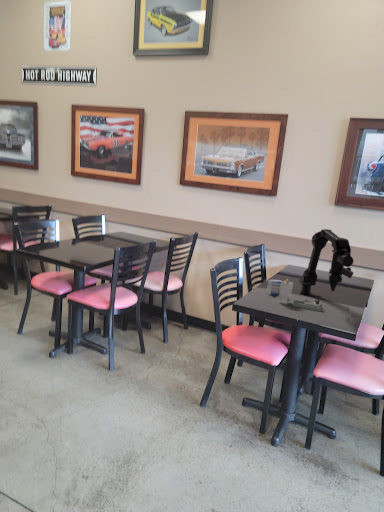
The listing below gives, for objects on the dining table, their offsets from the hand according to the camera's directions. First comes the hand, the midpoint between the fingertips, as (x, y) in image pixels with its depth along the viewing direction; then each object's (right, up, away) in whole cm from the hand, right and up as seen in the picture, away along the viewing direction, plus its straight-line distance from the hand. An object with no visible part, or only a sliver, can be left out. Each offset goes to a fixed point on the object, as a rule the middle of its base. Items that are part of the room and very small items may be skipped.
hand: (332, 290), depth 200 cm
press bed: (-15, -9, +12) cm, 21 cm away
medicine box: (-25, -5, +29) cm, 39 cm away
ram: (-10, -10, +5) cm, 15 cm away
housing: (-23, -8, +10) cm, 27 cm away
